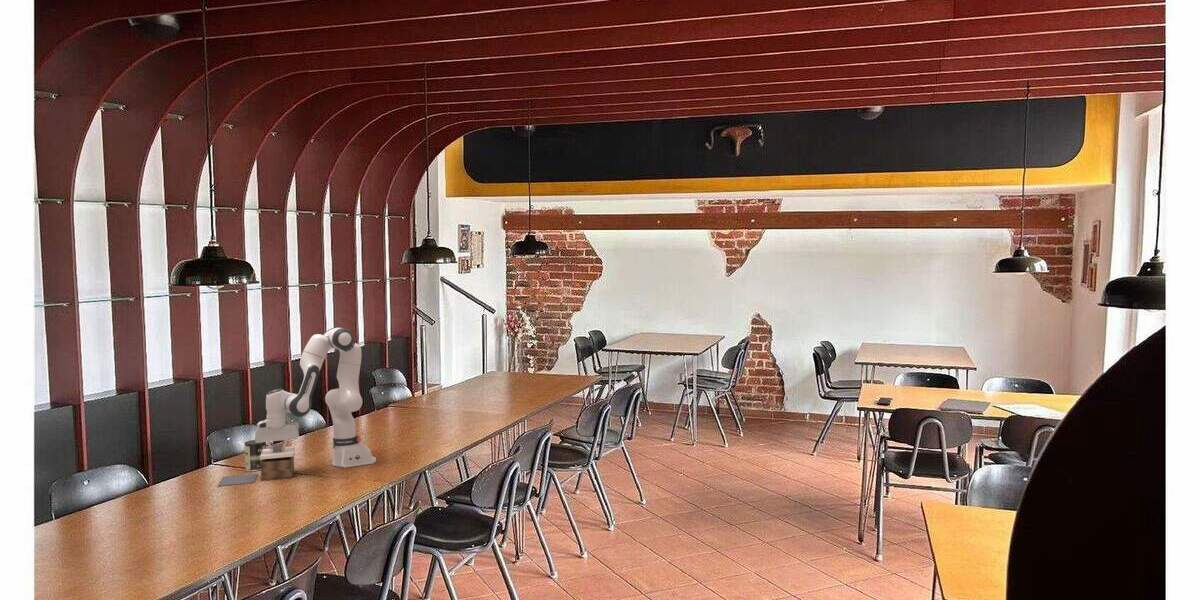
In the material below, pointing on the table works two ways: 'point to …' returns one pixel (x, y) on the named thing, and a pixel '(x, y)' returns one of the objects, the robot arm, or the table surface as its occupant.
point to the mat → (237, 479)
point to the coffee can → (253, 455)
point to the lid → (277, 452)
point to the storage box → (277, 468)
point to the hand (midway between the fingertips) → (277, 449)
